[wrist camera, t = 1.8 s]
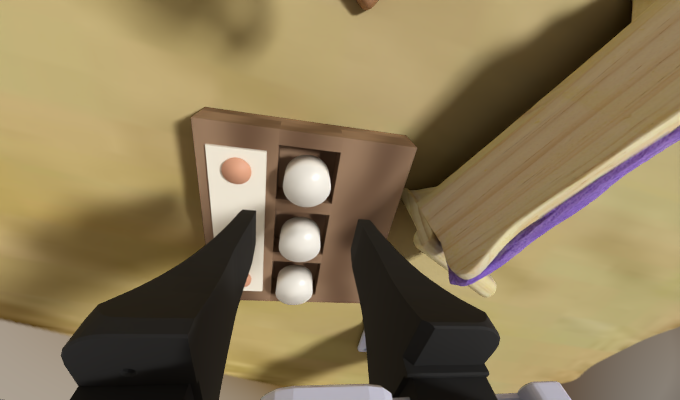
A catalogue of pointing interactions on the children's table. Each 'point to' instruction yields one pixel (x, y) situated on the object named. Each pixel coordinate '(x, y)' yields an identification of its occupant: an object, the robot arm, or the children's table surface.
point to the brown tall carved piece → (367, 3)
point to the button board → (331, 215)
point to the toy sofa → (557, 152)
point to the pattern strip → (238, 195)
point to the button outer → (306, 181)
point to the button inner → (294, 285)
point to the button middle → (299, 239)
